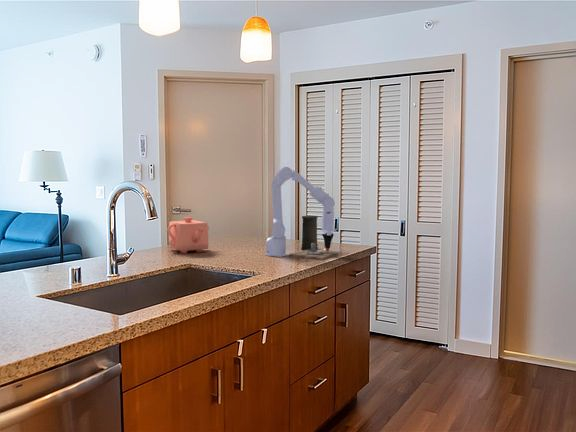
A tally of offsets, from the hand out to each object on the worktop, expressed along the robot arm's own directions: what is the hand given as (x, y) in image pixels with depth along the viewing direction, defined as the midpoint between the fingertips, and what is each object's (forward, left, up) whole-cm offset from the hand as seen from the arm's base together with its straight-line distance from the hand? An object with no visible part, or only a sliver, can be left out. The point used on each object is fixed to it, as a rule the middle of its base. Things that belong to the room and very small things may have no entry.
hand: (327, 248), depth 255 cm
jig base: (-6, -4, -4) cm, 8 cm away
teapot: (-65, -28, -4) cm, 71 cm away
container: (-18, +13, -4) cm, 23 cm away
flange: (-5, -2, -2) cm, 6 cm away
